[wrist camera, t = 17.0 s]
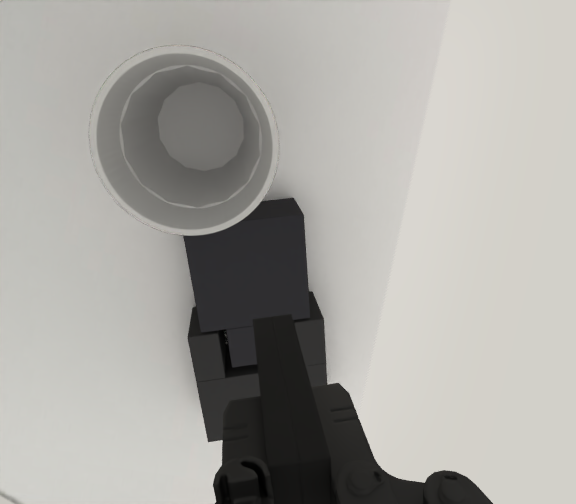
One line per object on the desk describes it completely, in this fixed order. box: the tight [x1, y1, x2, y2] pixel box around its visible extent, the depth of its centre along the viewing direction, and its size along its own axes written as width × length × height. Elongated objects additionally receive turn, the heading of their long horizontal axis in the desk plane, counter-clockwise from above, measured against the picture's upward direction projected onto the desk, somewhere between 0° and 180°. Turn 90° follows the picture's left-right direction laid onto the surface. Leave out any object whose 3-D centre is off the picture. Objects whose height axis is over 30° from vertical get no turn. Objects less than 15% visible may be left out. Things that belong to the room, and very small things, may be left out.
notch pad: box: [188, 292, 327, 442], centre depth 34 cm, size 10×10×4 cm
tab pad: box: [183, 198, 310, 367], centre depth 31 cm, size 11×8×4 cm
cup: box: [89, 45, 279, 236], centre depth 23 cm, size 8×8×12 cm
